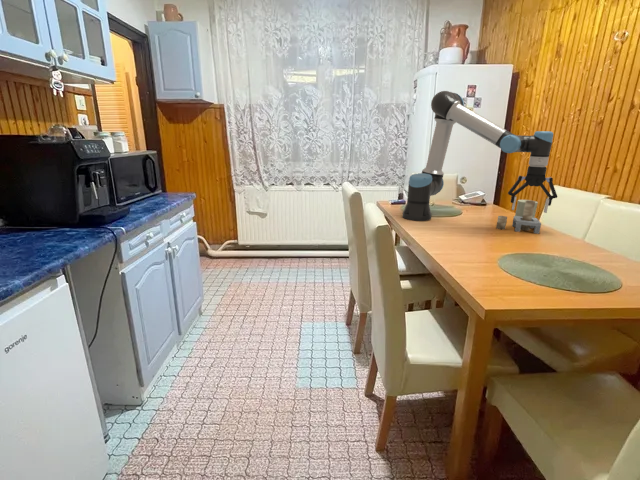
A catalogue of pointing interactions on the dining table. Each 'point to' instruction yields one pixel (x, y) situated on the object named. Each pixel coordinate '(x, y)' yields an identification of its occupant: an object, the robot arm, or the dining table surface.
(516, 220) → the square frame with posts
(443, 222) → the dining table surface
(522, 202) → the can
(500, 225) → the short dowel
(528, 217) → the long dowel
